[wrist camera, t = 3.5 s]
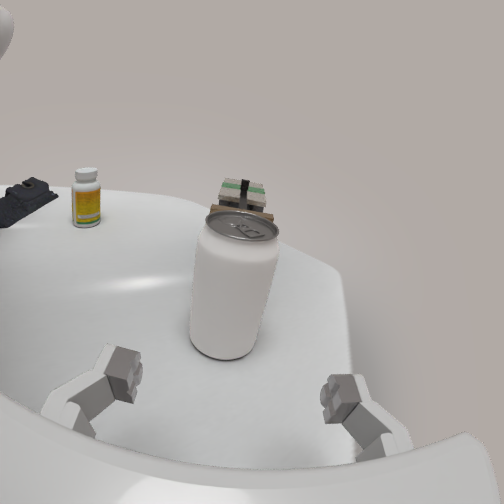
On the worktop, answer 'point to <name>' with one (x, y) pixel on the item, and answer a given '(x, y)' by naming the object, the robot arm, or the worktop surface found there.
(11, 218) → the dark folded fabric
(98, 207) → the supplement bottle
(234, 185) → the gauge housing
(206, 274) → the can
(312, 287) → the worktop surface
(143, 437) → the worktop surface
